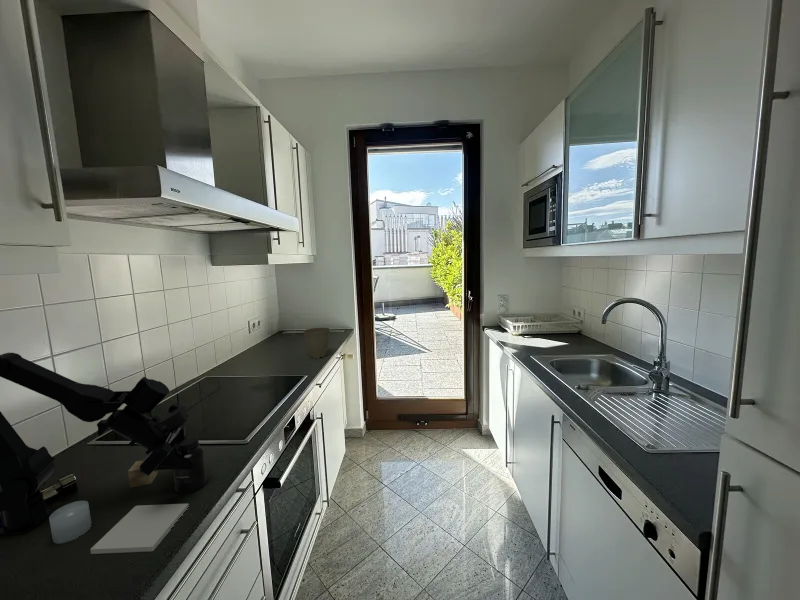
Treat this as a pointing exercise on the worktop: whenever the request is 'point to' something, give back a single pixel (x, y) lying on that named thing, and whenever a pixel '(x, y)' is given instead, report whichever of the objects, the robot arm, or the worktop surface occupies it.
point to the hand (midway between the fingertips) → (195, 459)
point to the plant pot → (317, 341)
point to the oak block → (139, 476)
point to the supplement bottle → (197, 475)
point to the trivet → (140, 529)
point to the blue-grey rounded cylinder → (70, 521)
